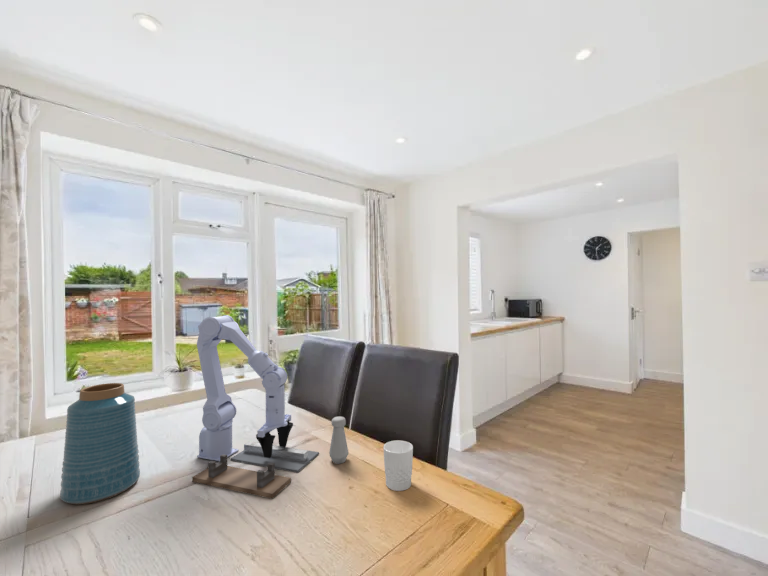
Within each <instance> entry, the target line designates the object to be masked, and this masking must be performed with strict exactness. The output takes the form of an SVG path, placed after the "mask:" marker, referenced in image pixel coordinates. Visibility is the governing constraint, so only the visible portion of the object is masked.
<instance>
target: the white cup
mask: <svg viewBox="0 0 768 576" xmlns="http://www.w3.org/2000/svg"><path fill="white" fill-rule="evenodd" d="M413 454H414V445H413V444H412V443H410V442H409V441H406V440H402V439H401V440H398V439H397V440H391V441H390V440H389V441H387V442H386V443H384V444H383V463H384V464H383V465H384V474H385V485H386V487H387V488H388V489H390V490H391V491H395V492H396V491H397V492H400V491H401V492H402V491H405V490H408V489H409V488H410V487H412V475H413V457H414V456H413Z"/></svg>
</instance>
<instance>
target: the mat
mask: <svg viewBox="0 0 768 576" xmlns="http://www.w3.org/2000/svg"><path fill="white" fill-rule="evenodd" d="M274 445H275V444H274ZM275 446H277V445H275ZM287 447H288V446H287ZM288 448H290V447H288ZM300 449H301V448H300ZM301 450H303V449H301ZM318 454H320V452H319V451H314V450H308V459H307V460H306V461H305V462H300V461H294V460H288V459H282V458H277V457H270V458H266V457H264V455H259V454H253V453H247V452H244V449H243V450H241V451H240V452H239V453H238V452H237V454H235V455H233V456H232V457H231V458H230V461H233V462H237V463H244V464H250V465H254V466H260V467H265V468H267V464H268V463H275V470H276V469H277V470H280V471H288V472H292V473H299V472H300V471H302V470H303V469H304V468H305V467H306V466H307V465H308V464H309V463H311V462H312V461H313V460H314V459H315V458H317V457H318V456H319V455H318ZM310 461H311V462H310Z"/></svg>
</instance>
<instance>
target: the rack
mask: <svg viewBox="0 0 768 576" xmlns="http://www.w3.org/2000/svg"><path fill="white" fill-rule="evenodd" d="M207 466H208V467H207V468H205V469H203V470H202V471H200V472H198V473H197V474H196V475H193V476H192V477H191V481H192V482H193V483H197V484H202V485H207V486H212V487H216V488H222V489H226V490H229V491H235V492H239V493H243V492H244V494H249V495H254V496H257V495H258V497H262V496H263V497H262V498H266V499H274V498H275V497H277V495H279V493H281V492H282V491H283V490H284V489H285V488H286V487H288V485H289V484H290V483H292V477H291V476H290V477H288V476H284V475H278V474H276V473H275V470H276V468H275V463H268V464H267V467H266V468H267V469H266V471H265V470H263V469H259V470H252V469H246V468H241V467H236V466H230V465H228V457H227V455H224V454H222V455H221V456H220V461H214V460H210V461H209V462H208V465H207Z"/></svg>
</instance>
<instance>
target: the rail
mask: <svg viewBox="0 0 768 576" xmlns="http://www.w3.org/2000/svg"><path fill="white" fill-rule="evenodd" d="M243 450H244V452H247V453H253V454H259V455H264V454H263V450H262V447H261V445H260V443H259V442H254V441H247V442H245V443H244V444H243ZM308 451H309V450H308V449H302V450H301V448H296V447H289V448H288V446H286V447H282V446H279V445H276V446H275V444H273V446H272V456H271V457H277V458H282V459H288V460H294V461H300V462H305V461H306V460H307V459H308Z"/></svg>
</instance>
